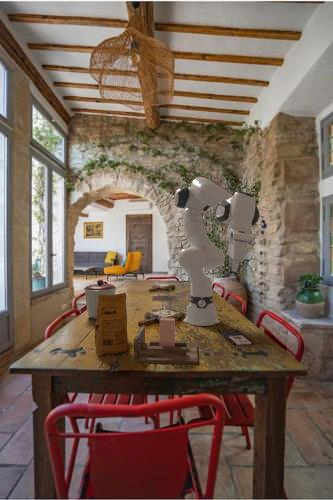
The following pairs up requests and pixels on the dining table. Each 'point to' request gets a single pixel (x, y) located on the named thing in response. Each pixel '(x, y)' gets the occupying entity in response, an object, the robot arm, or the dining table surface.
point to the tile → (167, 332)
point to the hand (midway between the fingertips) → (232, 269)
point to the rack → (163, 351)
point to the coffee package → (111, 324)
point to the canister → (96, 296)
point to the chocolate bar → (236, 337)
